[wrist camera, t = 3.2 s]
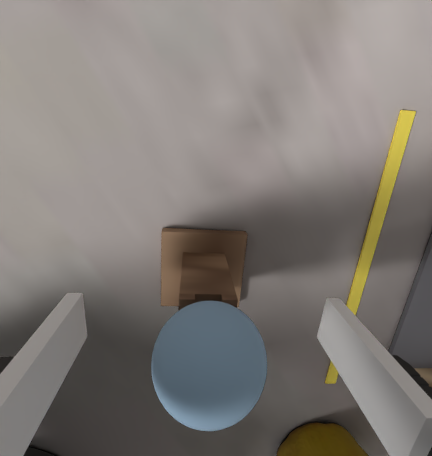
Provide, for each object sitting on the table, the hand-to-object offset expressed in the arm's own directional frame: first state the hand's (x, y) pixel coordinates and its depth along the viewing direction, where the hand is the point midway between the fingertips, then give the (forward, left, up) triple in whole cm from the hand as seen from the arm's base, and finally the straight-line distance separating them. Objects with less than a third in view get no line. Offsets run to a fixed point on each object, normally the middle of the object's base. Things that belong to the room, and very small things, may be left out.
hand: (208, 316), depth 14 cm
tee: (0, 0, -6) cm, 6 cm away
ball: (0, 0, +3) cm, 3 cm away
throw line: (+13, 0, -6) cm, 14 cm away
